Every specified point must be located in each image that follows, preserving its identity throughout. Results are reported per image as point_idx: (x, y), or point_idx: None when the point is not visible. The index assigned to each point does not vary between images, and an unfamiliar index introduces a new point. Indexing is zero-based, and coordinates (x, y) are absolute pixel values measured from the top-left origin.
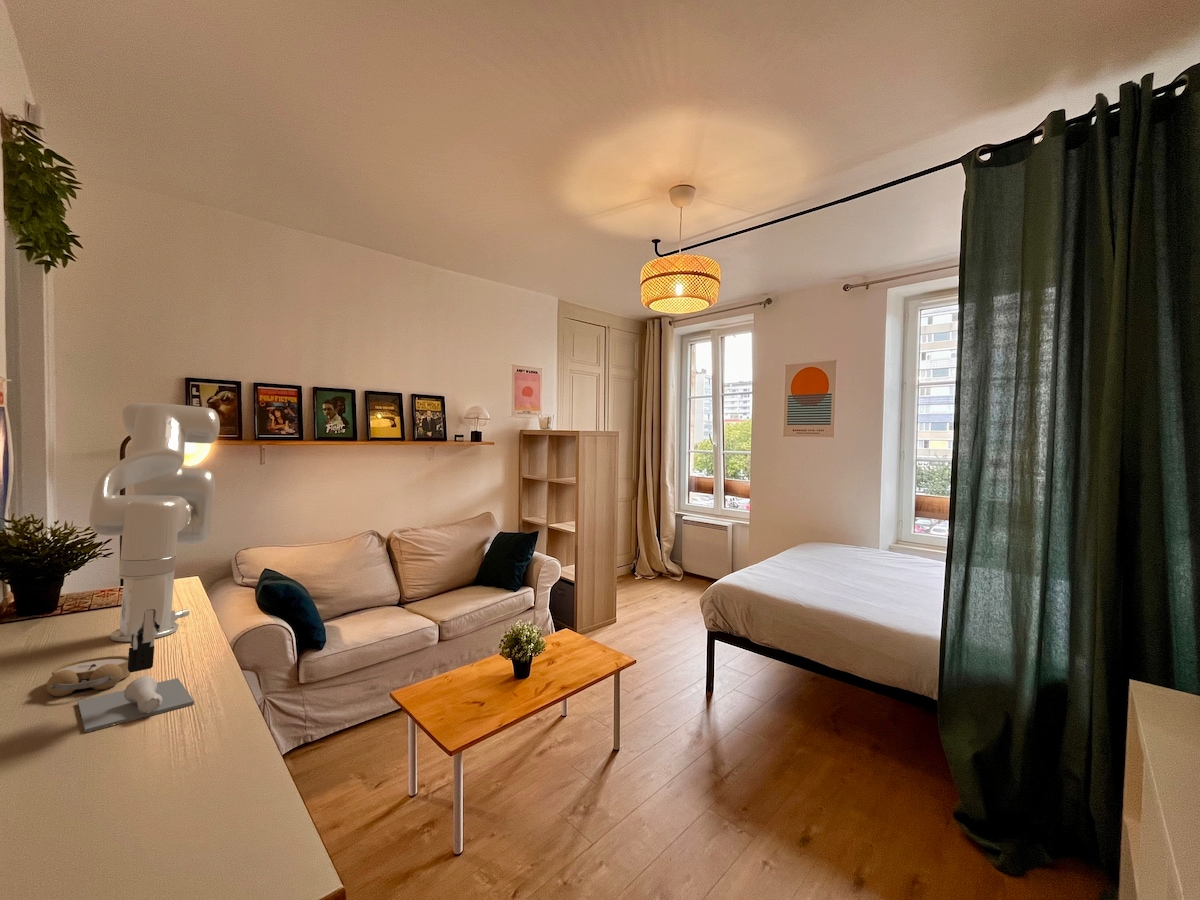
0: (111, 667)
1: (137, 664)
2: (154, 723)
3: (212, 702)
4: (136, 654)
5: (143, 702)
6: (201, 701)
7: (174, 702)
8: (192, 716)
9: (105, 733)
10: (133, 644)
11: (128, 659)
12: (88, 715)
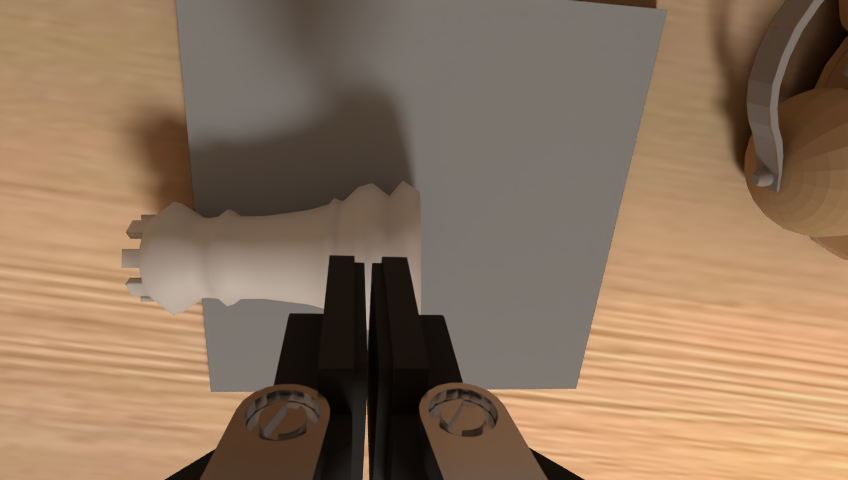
0: (836, 199)
1: (289, 327)
2: (85, 230)
3: (184, 432)
4: (295, 377)
5: (146, 234)
6: (231, 405)
7: (257, 333)
8: (63, 355)
9: (104, 41)
10: (255, 444)
11: (397, 298)
12: (386, 12)
